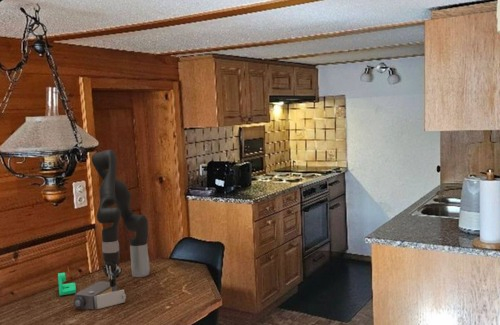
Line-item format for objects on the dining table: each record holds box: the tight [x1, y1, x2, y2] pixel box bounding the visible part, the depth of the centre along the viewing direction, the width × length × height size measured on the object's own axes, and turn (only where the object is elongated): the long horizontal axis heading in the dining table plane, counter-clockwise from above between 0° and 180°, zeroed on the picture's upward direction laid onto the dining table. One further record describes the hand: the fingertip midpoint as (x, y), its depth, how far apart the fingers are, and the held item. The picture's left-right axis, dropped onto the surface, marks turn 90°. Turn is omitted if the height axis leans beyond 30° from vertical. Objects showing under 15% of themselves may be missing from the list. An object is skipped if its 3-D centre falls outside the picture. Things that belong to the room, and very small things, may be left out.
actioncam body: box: [73, 280, 118, 311], centre depth 233 cm, size 21×10×7 cm, turn 159°
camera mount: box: [57, 272, 77, 296], centre depth 248 cm, size 12×8×10 cm, turn 21°
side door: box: [94, 289, 127, 311], centre depth 227 cm, size 14×2×6 cm, turn 124°
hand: (113, 286), depth 232 cm, fingers closed
